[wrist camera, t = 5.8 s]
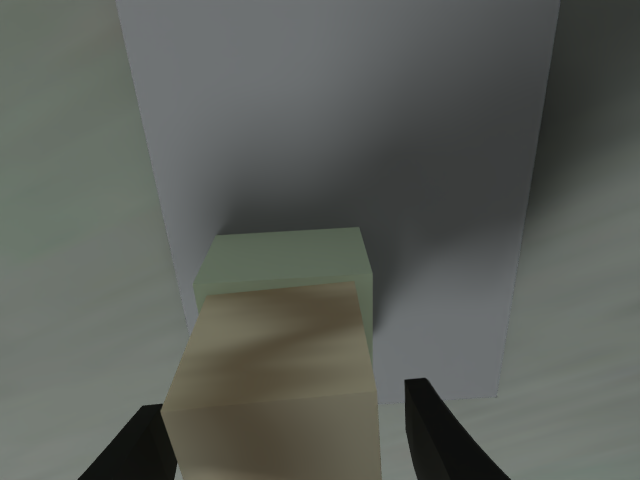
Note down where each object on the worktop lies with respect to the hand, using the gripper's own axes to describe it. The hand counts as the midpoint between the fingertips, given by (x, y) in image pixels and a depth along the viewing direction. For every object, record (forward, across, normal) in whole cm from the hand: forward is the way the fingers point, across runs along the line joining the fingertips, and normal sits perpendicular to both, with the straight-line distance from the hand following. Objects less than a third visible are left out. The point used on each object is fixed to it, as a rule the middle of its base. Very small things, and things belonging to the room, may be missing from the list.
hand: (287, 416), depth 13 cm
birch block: (+3, 0, 0) cm, 3 cm away
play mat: (+8, -3, -5) cm, 9 cm away
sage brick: (+7, 0, 0) cm, 7 cm away
